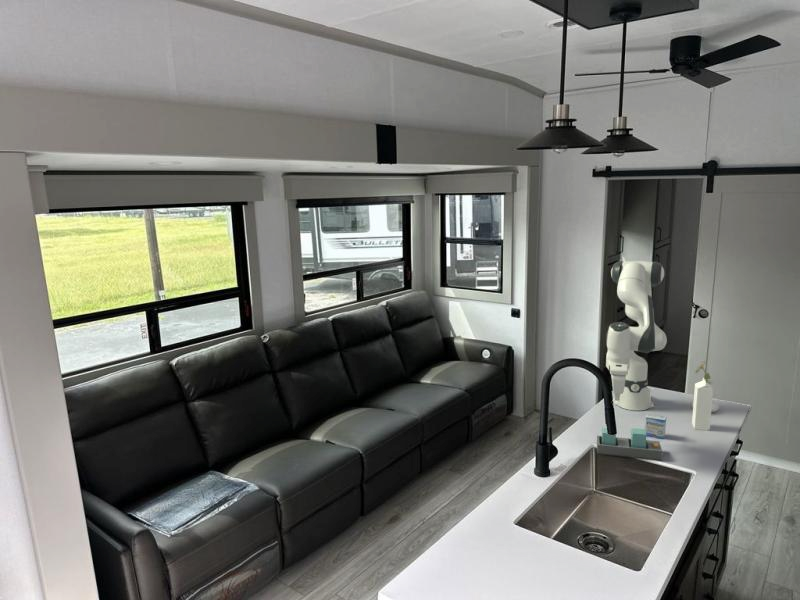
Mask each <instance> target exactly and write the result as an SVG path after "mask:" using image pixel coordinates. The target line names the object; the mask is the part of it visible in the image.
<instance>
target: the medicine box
mask: <svg viewBox="0 0 800 600" xmlns="http://www.w3.org/2000/svg"><path fill="white" fill-rule="evenodd" d="M666 424H667V416H663V415H656V414H649V413H646V414H645V422H644V429H645V431H646V437H647V438H648V437H649V438H654V437H655V438H656V439H661V440H665V437H666V428H667V427H666ZM655 438H654V439H655Z"/></svg>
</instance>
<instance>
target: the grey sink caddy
mask: <svg viewBox="0 0 800 600" xmlns="http://www.w3.org/2000/svg"><path fill="white" fill-rule="evenodd" d="M630 434H631V435H630V437H629V438H627V437H617V436H616V444H615V446H613V445H603V444H602V435H596V454H597V455H602V456H603V455H604V456H612V457H613V456H614V457H623V458H632V459H640V460H641V459H642V460H652V461H660V460H661V461H662V460H663V449H662V446H661V441H660V440H659V441H658V440H652V439H651V440H649V439H648V440H647V436H646V431H645V428H635V427H634V428H633V427H632V428H631V433H630Z"/></svg>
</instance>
